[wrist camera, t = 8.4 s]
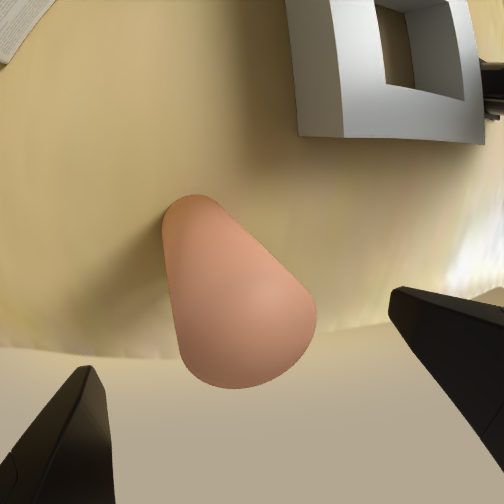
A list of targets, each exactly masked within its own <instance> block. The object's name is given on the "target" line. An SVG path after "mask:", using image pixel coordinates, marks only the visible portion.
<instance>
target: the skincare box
mask: <svg viewBox="0 0 504 504" xmlns="http://www.w3.org/2000/svg"><path fill="white" fill-rule="evenodd" d="M55 1H56V0H0V62H1V63H4V64H8V63H9V62H10V60H11V58H12V57H13V55H14V54H15V52H16V51H17V49H18V48H19V46H20V45H21V44H22V42H23V41H24V39H25V38H26V37H27V35H28V34H29V33H30V31H31V30H32V29H33V27H34V26H35V25H36V23H37V22H38V21H39V20H40V18H41V17H42V16H43V15H44V14H45V12H46V11H47V10H48V9H49V8H50V7H51V5H52V4H53V3H54V2H55Z"/></svg>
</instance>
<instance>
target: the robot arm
mask: <svg viewBox="0 0 504 504" xmlns="http://www.w3.org/2000/svg"><path fill="white" fill-rule="evenodd" d="M479 65H480V73H481V81H482V91H483V104H484V117H487V118H491V119H494V120H500V115H504V63H487V62H486V61H484V60H482V59H480V58H479ZM388 315H389V318H390V320H391V321H392V322H393V324H394V325H395V327H396V328H397V329H398V331H399V333H400V334H401V336H402V337H403V338H404V340H405V341H406V343H407V344H408V346H409V347H410V349H411V350H412V352H413V353H414V354H415V355H416V357H417V358H418V359H419V360H420V362H421V363H422V364H423V365H424V366H425V368H426V369H427V370H428V371H429V373H430V374H431V375H432V376H433V378H434V379H435V380H436V381H437V383H438V384H439V385H440V386H441V388H442V389H443V390H444V391H445V393H446V394H447V395H448V397H449V398H450V399H451V400H452V402H453V403H454V404H455V406H456V407H457V408H458V409H459V411H460V412H461V413H462V415H463V416H464V417H465V419H466V420H467V421H468V423H469V424H470V425H471V427H472V428H473V430H474V431H475V432H476V434H477V435H478V436H479V437H480V440H481V441H482V442H483V444H484V445H485V446H486V448H487V449H488V451H489V452H490V454H491V455H492V456H493V458H494V459H495V461H496V462H497V464H498V465H499V467H500V468H501V470H502V471H503V472H504V307H501V306H498V307H497V306H496V305H491V304H486V303H481V302H477V301H472V300H467V299H462V298H457V297H453V296H448V295H443V294H438V293H434V292H429V291H424V290H419V289H414V288H410V287H405V286H401V287H398V288H396V289H393V290H392V292H391V295H390V302H389V308H388ZM11 452H12V453H11ZM11 452H9V453H8V455H7V456H6V458H5V459H4V460H3V462H2V463H1V464H0V504H116V503H115V494H114V480H113V466H112V445H111V435H110V428H109V420H108V412H107V402H106V393H105V389H104V387H103V385H102V383H101V381H100V379H99V377H98V375H97V373H96V371H95V369H94V368H93V367H92V366H90V365H87V366H80V367H78V368H77V369H76V370H75V371H74V372H73V373H72V374H71V376H70V377H69V378H68V379H67V380H66V381H65V383H64V384H63V385H62V386H61V387H60V389H59V390H58V391H57V392H56V394H55V395H54V396H53V397H52V399H51V400H50V401H49V402H48V403H47V405H46V406H45V407H44V408H43V410H42V411H41V412H40V413H39V415H38V416H37V417H36V419H35V420H34V421H33V422H32V423H31V425H30V426H29V427H28V429H27V430H26V431H25V433H24V434H23V435H22V436H21V438H20V439H19V440H18V442H17V443H16V444H15V446H14V447H13V448H12V450H11Z"/></svg>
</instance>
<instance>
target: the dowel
mask: <svg viewBox="0 0 504 504" xmlns="http://www.w3.org/2000/svg"><path fill="white" fill-rule="evenodd" d="M161 232H162V241H163V249H164V257H165V265H166V272H167V279H168V286H169V293H170V299H171V305H172V312H173V318H174V323H175V329H176V335H177V340H178V345H179V350H180V355H181V357H182V360H183V362H184V364H185V365H186V367H187V368H188V370H189V371H190V372H191V373H192V374H193V375H194V376H196V377H197V378H198V379H200V380H201V381H203V382H205V383H208V384H209V385H212V386H216V387H220V388H227V389H242V388H249V387H253V386H257V385H260V384H263V383H266V382H268V381H271V380H272V379H274V378H276V377H278V376H280V375H281V374H283V373H284V372H286V371H287V370H288V369H289V368H291V367H292V366H293V365H294V364H295V363H296V362H297V361H298V360H299V359H300V358H301V356H302V355H303V354H304V352H305V351H306V349H307V348H308V346H309V344H310V342H311V340H312V337H313V335H314V331H315V327H316V308H315V304H314V301H313V299H312V297H311V295H310V293H309V292H308V291H307V289H306V288H305V287H304V286H303V285H302V284H301V283H300V282H299V281H298V280H297V279H296V278H295V277H294V276H293V275H292V274H291V273H290V272H289V271H288V270H287V269H286V268H285V267H284V266H283V265H282V264H280V263H279V262H278V261H277V260H276V259H275V258H274V257H273V256H272V255H271V254H270V253H269V252H268V251H267V250H266V249H265V248H264V247H263V246H262V245H261V244H260V243H259V242H258V241H257V240H256V239H255V238H254V237H252V236H251V235H250V234H249V233H248V232H247V231H246V230H245V229H244V228H243V227H242V226H241V225H240V224H239V223H238V222H237V221H236V220H235V219H234V218H233V217H232V216H231V215H229V214H228V213H227V212H226V211H225V210H224V209H223V208H222V207H221V206H220V205H219V204H218V203H217V202H216V201H214V200H213V199H211V198H209V197H206V196H202V195H190V196H186V197H183V198H181V199H179V200H177V201H176V202H174V203H173V204H172V205H171V206H170V207H169V208H168V210H167V211H166V213H165V215H164V217H163V220H162V225H161Z"/></svg>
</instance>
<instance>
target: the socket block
mask: <svg viewBox="0 0 504 504" xmlns="http://www.w3.org/2000/svg"><path fill="white" fill-rule="evenodd" d="M374 4H377V5H381V6H384V7H387V8H390V9H393V10H395V11H398V12H401V13H404V14H405V19H406V24H407V30H408V36H409V42H410V48H411V55H412V63H413V72H414V81H415V89H411V88H406V87H400V86H395V85H389V84H386V80H385V71H384V62H383V54H382V47H381V40H380V33H379V27H378V21H377V16H376V10H375V5H374ZM285 6H286V13H287V21H288V29H289V38H290V46H291V55H292V65H293V75H294V86H295V97H296V109H297V122H298V136H311V137H338V138H402V139H422V140H437V141H449V142H460V143H470V144H478V145H485V124H484V104H483V91H482V81H481V73H480V65H479V58H478V52H477V46H476V41H475V35H474V31H473V26H472V21H471V17H470V13H469V9H468V5H467V2H466V0H285Z"/></svg>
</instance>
